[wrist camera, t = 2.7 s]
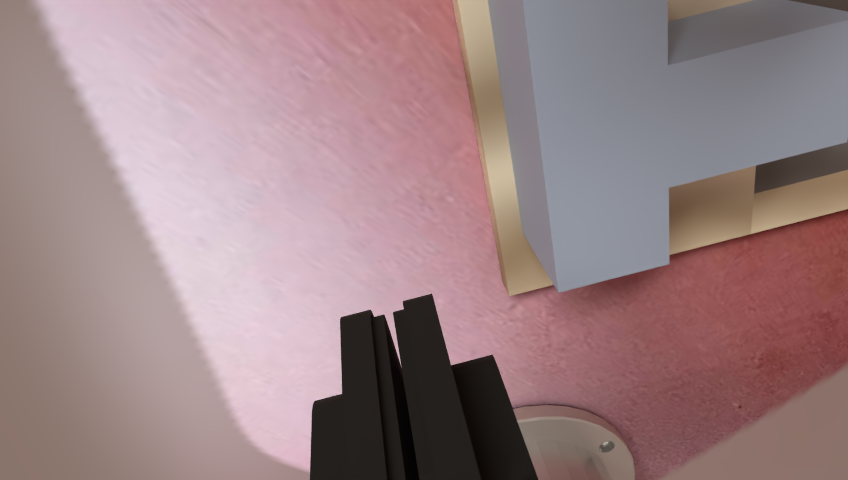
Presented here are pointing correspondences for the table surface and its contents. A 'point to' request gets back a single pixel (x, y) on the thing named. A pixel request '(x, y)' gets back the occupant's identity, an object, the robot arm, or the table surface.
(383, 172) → the table surface
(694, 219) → the board
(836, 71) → the t block
